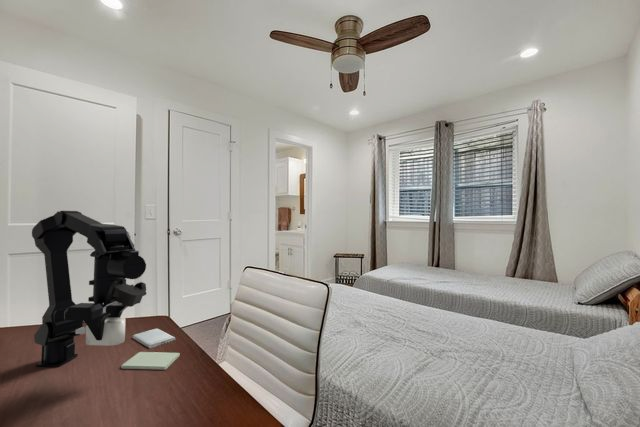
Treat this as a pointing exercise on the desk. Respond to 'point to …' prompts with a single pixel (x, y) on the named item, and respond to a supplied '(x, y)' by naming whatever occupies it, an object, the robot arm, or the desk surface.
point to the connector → (106, 332)
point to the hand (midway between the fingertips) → (105, 336)
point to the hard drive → (153, 338)
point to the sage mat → (151, 360)
